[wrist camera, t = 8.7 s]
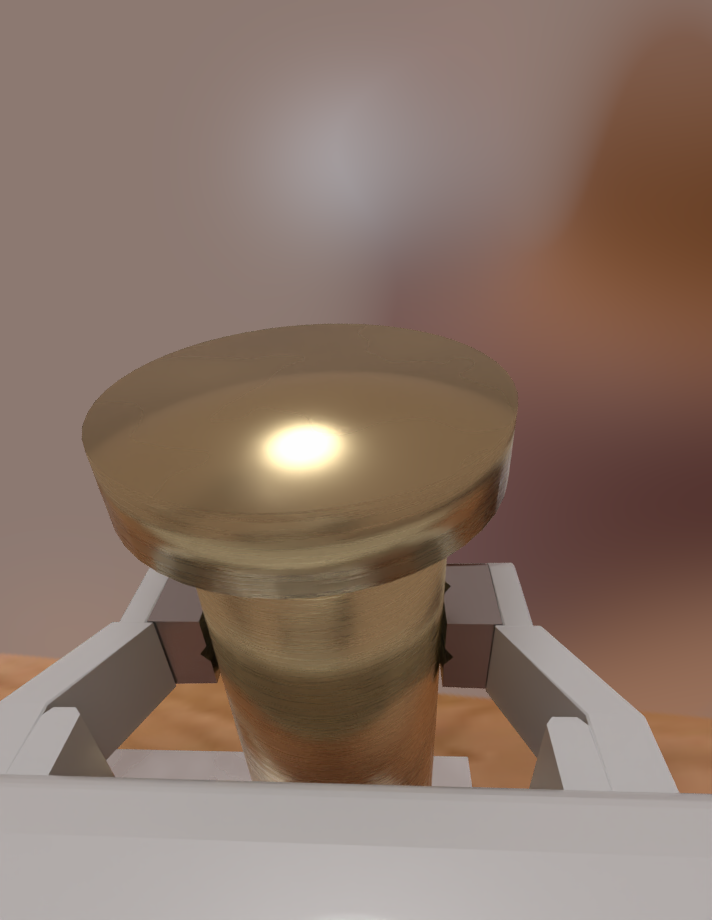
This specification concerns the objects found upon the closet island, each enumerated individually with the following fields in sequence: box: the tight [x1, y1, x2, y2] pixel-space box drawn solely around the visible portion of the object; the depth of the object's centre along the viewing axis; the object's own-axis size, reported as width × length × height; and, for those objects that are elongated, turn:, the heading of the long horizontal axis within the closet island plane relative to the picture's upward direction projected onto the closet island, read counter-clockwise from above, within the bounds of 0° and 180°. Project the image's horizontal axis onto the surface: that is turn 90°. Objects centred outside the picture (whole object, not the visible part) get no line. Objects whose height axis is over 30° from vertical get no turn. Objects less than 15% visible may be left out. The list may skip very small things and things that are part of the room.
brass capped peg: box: [82, 324, 518, 786], centre depth 11 cm, size 6×6×12 cm
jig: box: [106, 749, 472, 787], centre depth 21 cm, size 22×11×2 cm, turn 88°
